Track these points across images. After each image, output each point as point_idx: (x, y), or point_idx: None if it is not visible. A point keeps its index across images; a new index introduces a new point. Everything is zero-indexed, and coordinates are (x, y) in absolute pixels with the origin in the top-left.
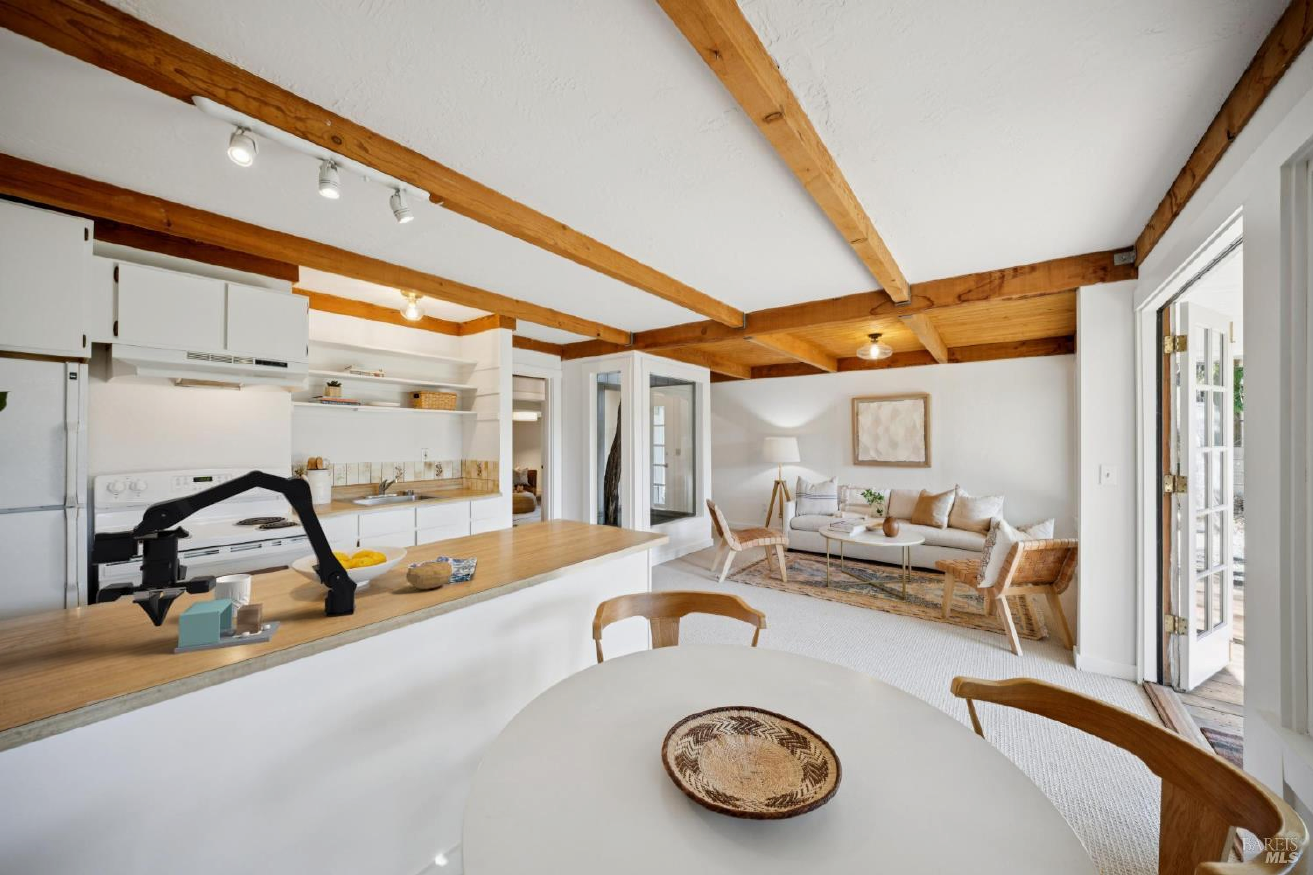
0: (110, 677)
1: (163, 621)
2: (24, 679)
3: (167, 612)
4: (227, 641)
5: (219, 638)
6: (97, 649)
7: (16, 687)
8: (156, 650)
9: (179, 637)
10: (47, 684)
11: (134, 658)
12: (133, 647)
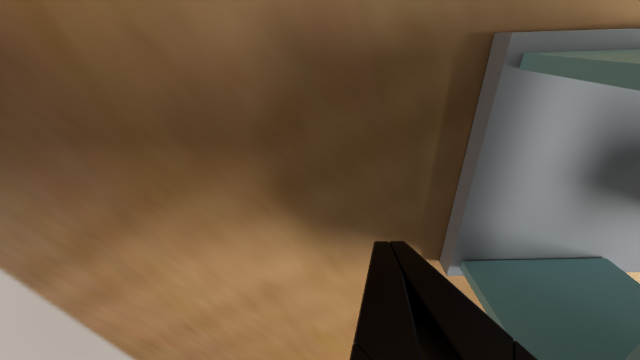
0: (318, 353)
1: (416, 253)
2: (81, 304)
3: (479, 312)
4: (632, 261)
5: (620, 269)
6: (70, 86)
7: (115, 341)
8: (365, 203)
9: (486, 307)
10: (183, 346)
11: (317, 255)
12: (244, 125)
